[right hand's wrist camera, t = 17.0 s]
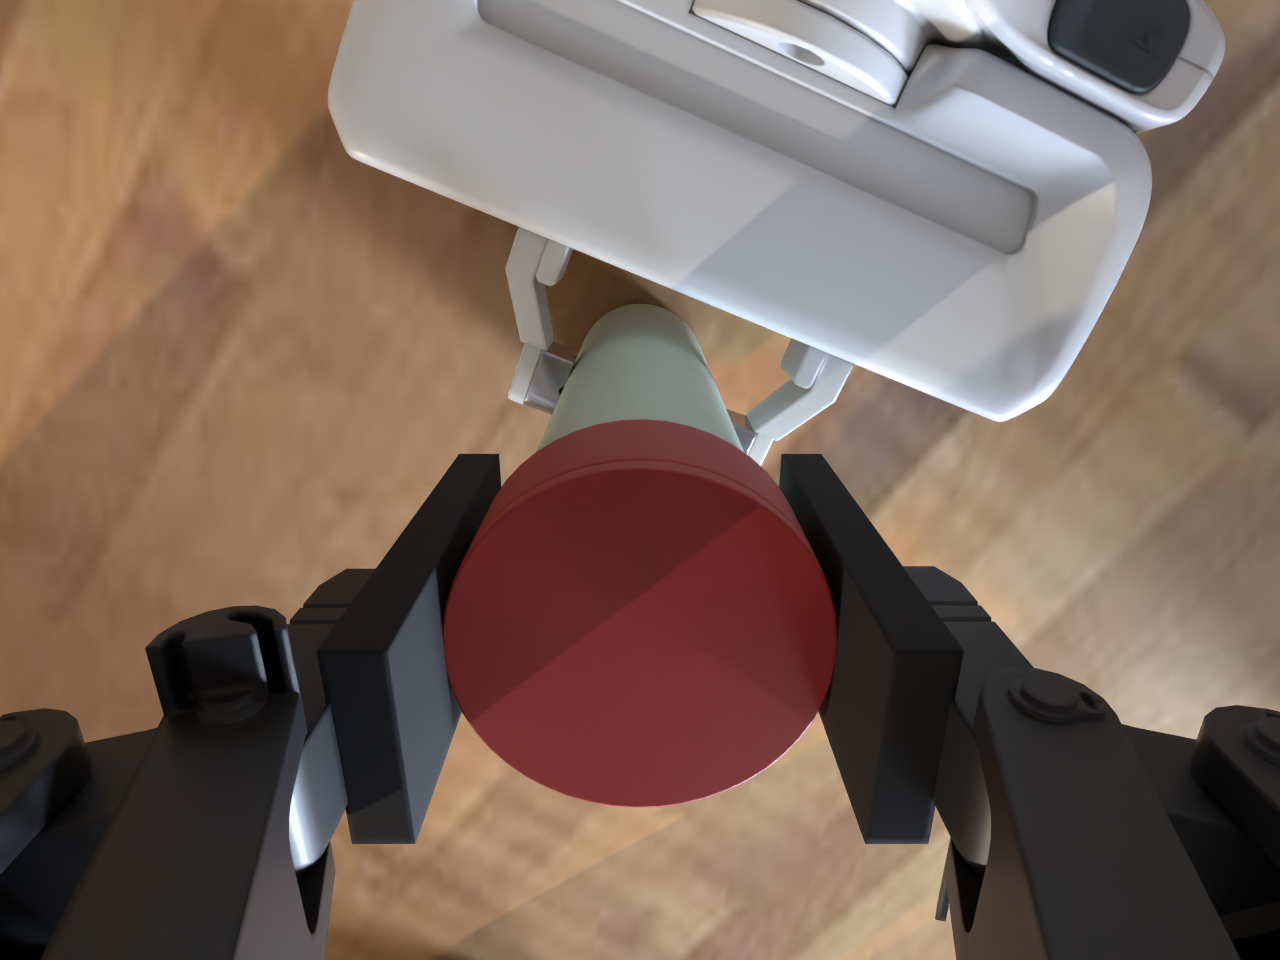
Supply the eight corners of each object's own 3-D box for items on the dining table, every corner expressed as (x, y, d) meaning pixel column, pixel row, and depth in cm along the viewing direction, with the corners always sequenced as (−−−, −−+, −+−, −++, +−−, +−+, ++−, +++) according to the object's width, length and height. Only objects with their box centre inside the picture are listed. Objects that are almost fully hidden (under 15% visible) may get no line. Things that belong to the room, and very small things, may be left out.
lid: (466, 687, 13) (430, 784, 11) (491, 393, 11) (454, 439, 9) (764, 726, 13) (788, 828, 11) (840, 445, 11) (886, 502, 9)
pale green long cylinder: (557, 389, 28) (422, 690, 11) (615, 279, 27) (566, 419, 9) (663, 445, 29) (698, 810, 12) (725, 341, 27) (872, 578, 10)
